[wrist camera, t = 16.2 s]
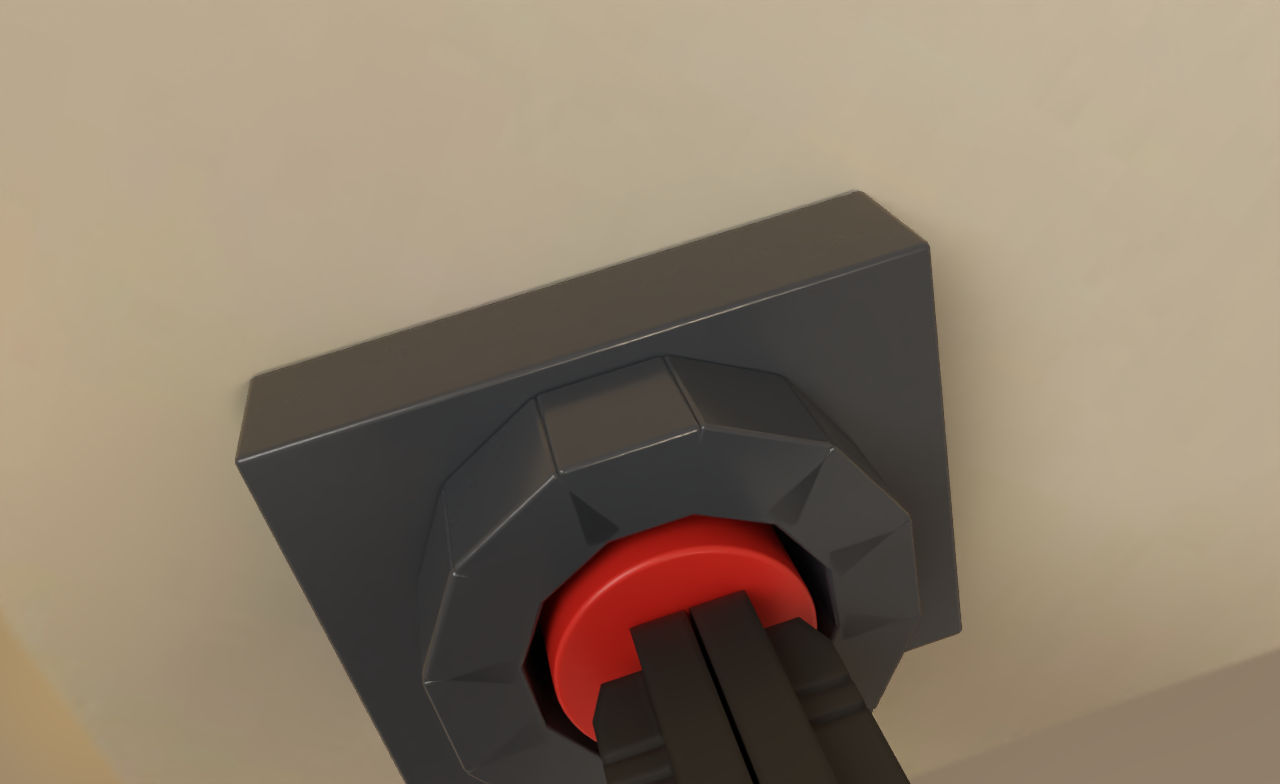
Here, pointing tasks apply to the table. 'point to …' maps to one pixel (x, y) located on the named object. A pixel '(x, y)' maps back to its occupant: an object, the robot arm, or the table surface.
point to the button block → (612, 471)
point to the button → (659, 598)
